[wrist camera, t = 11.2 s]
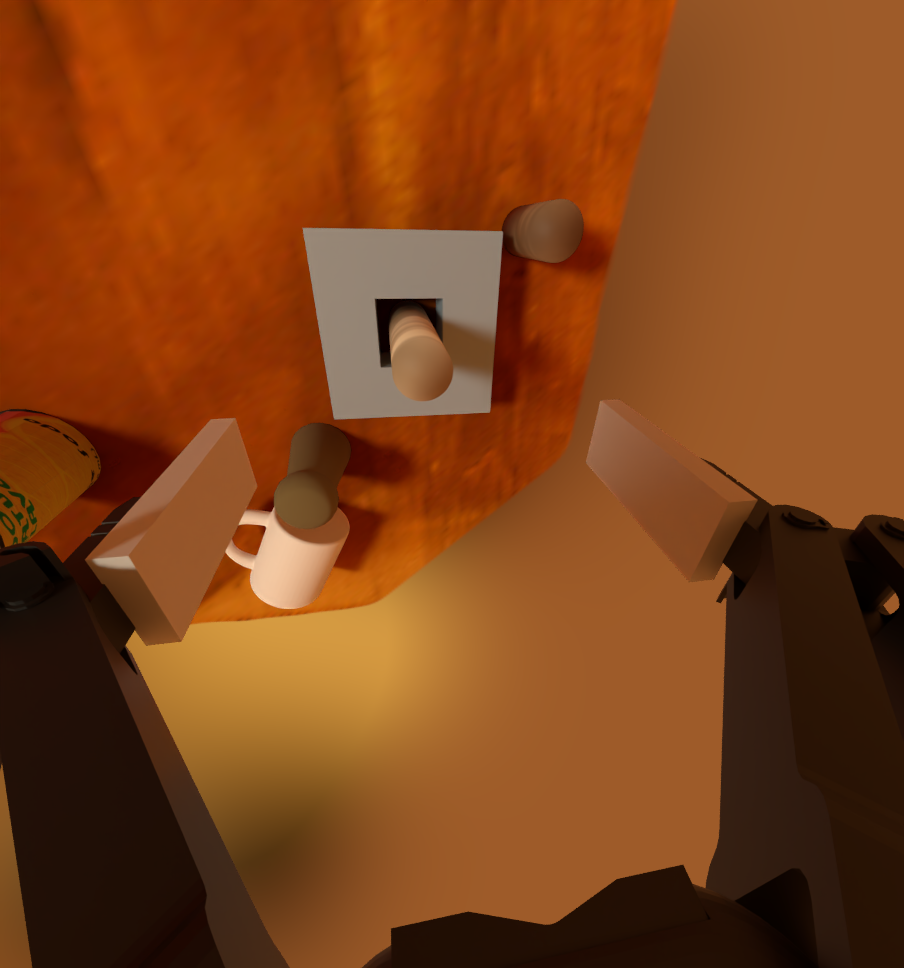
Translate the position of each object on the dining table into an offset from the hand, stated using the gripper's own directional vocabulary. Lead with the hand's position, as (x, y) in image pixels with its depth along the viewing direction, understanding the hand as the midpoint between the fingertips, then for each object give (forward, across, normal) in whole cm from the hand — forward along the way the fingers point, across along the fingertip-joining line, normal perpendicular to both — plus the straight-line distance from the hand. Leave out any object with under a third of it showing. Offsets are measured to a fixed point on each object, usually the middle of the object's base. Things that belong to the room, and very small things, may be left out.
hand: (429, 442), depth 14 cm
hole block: (+25, 0, 0) cm, 25 cm away
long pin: (+25, 0, 0) cm, 25 cm away
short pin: (+25, +10, +6) cm, 28 cm away
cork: (+25, -9, -13) cm, 30 cm away
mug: (+25, -15, -22) cm, 37 cm away
